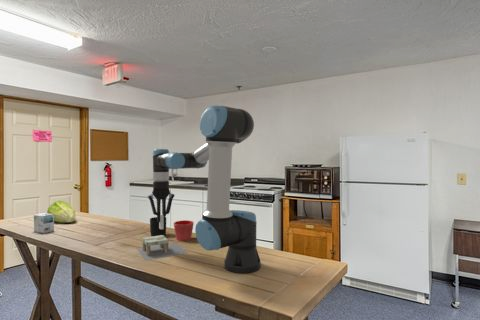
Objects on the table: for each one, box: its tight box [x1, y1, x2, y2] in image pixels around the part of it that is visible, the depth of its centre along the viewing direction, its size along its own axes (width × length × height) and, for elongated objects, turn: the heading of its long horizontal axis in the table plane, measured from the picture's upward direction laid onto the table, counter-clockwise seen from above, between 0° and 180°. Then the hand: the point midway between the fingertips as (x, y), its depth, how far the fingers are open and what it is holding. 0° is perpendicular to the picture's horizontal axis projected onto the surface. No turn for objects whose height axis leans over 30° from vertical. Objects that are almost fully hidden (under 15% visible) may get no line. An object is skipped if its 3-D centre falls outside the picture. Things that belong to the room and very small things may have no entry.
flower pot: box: [173, 219, 195, 242], centre depth 165 cm, size 11×11×10 cm
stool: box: [142, 235, 169, 256], centre depth 143 cm, size 10×6×10 cm
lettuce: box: [46, 200, 76, 224], centre depth 213 cm, size 15×24×16 cm
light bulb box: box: [33, 212, 55, 234], centre depth 185 cm, size 11×7×11 cm, turn 63°
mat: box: [136, 242, 189, 261], centre depth 144 cm, size 20×20×1 cm
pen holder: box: [149, 216, 167, 237], centre depth 175 cm, size 9×9×10 cm
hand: (161, 228), depth 145 cm, fingers closed
